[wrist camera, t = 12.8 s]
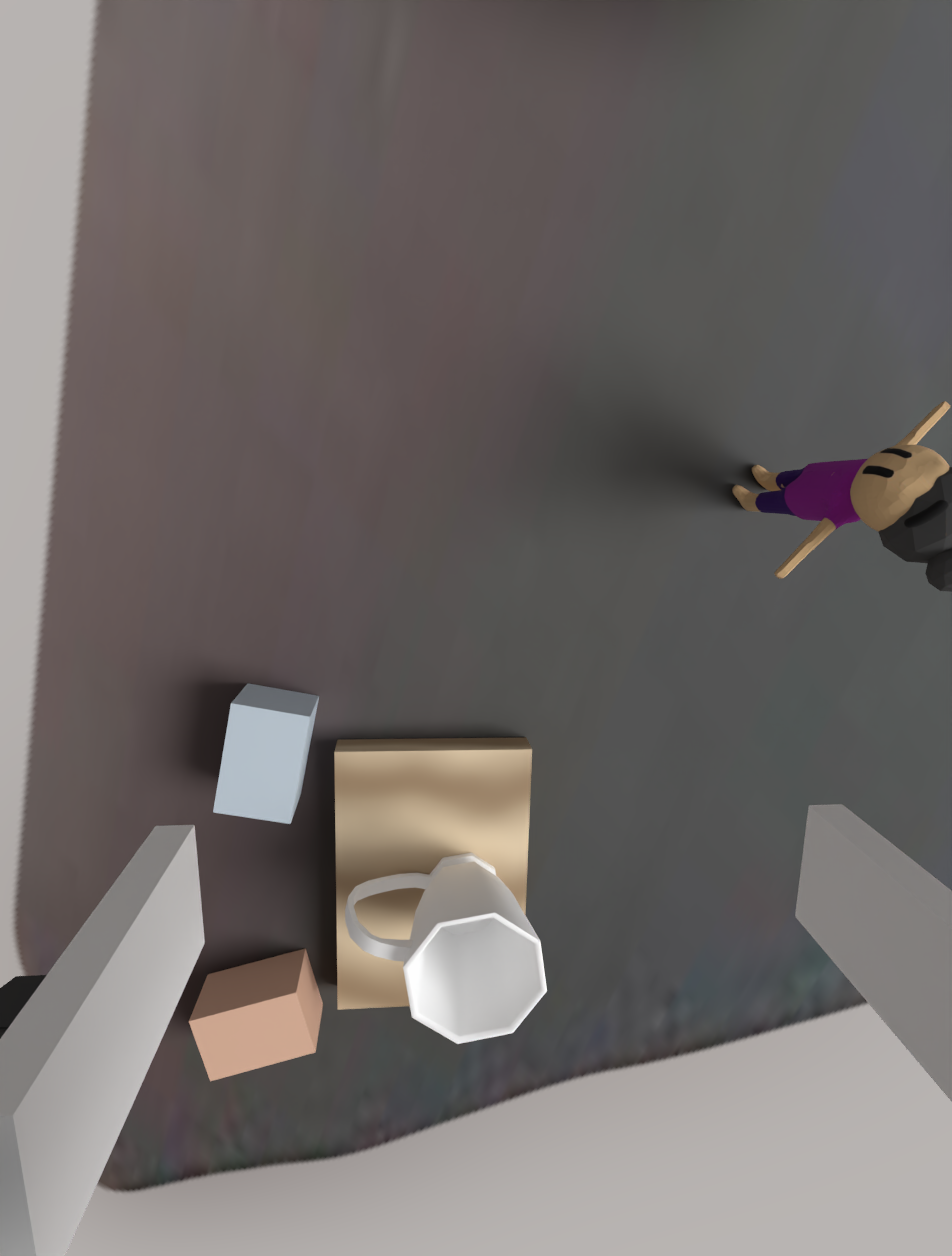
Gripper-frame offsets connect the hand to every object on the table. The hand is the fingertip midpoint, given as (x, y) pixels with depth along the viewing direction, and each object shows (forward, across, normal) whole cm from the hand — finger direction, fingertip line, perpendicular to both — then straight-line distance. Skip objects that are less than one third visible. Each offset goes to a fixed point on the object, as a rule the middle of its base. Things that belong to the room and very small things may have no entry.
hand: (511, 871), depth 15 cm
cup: (+23, -1, -15) cm, 28 cm away
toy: (+26, +18, +7) cm, 33 cm away
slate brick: (+25, -10, -7) cm, 28 cm away
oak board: (+25, -1, -15) cm, 29 cm away
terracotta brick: (+25, -11, -23) cm, 36 cm away
